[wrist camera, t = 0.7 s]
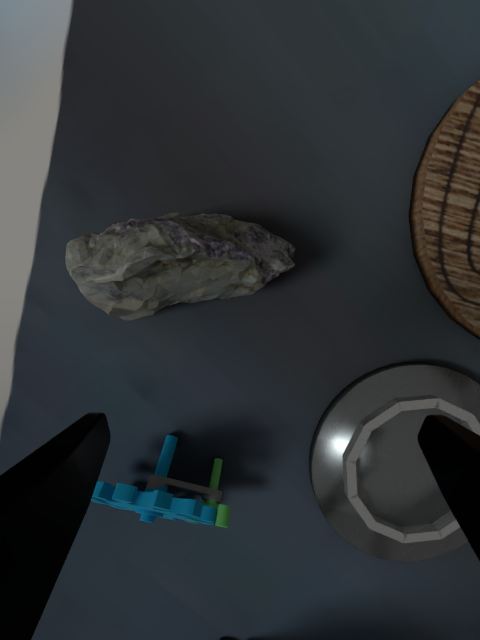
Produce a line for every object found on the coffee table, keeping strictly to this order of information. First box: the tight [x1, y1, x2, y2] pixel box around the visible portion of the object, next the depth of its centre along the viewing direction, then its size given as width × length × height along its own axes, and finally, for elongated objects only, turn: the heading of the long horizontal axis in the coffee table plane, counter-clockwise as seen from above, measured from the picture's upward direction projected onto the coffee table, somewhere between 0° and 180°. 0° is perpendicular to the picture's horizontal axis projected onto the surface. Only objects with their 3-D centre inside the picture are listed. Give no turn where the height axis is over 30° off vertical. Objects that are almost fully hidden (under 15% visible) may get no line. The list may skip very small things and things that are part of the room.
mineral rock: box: [65, 212, 295, 321], centre depth 18 cm, size 13×11×10 cm
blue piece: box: [91, 435, 231, 528], centre depth 21 cm, size 11×6×10 cm
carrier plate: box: [309, 362, 480, 561], centre depth 23 cm, size 18×18×2 cm
